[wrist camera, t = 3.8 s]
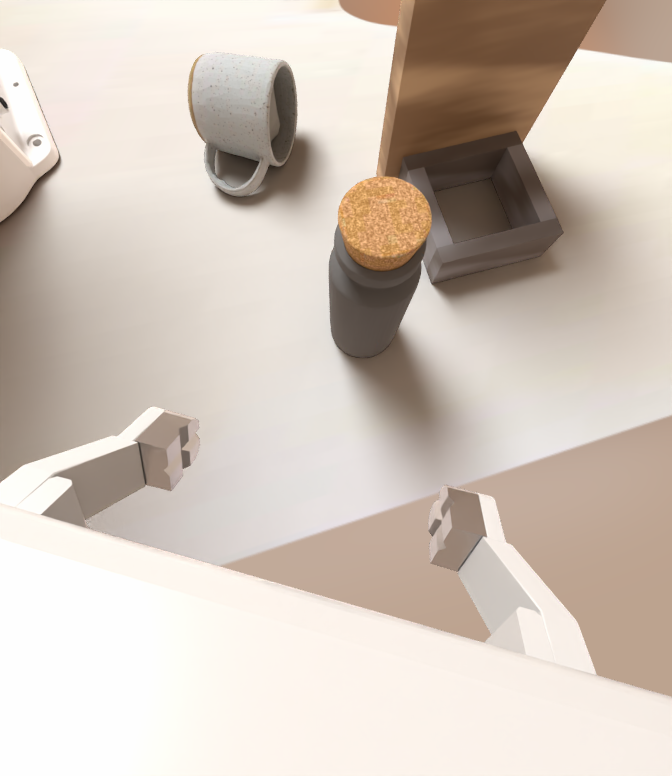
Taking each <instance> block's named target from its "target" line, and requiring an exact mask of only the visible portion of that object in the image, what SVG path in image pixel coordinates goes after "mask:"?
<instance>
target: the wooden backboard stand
mask: <svg viewBox="0 0 672 776" xmlns="http://www.w3.org/2000/svg"><path fill="white" fill-rule="evenodd" d="M605 1H606V0H401V5H400V12H399V19H398V26H397V33H396V40H395V47H394V54H393V61H392V68H391V75H390V82H389V89H388V96H387V103H386V110H385V117H384V124H383V131H382V138H381V145H380V152H379V159H378V166H377V173H376V174H377V177H386V176H387V177H395V178H398V179H402V180H404V181H406V182H408V183H410V184H412V185H413V186H415V187H416V188H417V189H418V190H419V191H420V192H421V193H422V194H423V195H424V196H425V198H426V200H427V202H428V204H429V206H430V210H431V214H432V224H431V229H430V232H429V235H428V237H427V238H426V240H427V243H426V251H425V254H424V257H423V262H424V264H425V267H426V270H427V273H428V275H429V278H430V281H431V284H433V283H437V282H441V281H445V280H449V279H453V278H456V277H460V276H464V275H468V274H472V273H476V272H480V271H484V270H488V269H492V268H495V267H499V266H503V265H507V264H511V263H515V262H519V261H523V260H527V259H531V258H534V257H538V256H541V255H542V254H543V253H544V252H545V251H546V250H547V249H548V248H549V247H550V246H551V245H552V244H553V243H554V242H555V241H556V240H557V239H558V238H559V237H560V236H561V235H562V234H563V233H564V232H563V230H562V228H561V226H560V224H559V222H558V219H557V217H556V215H555V213H554V211H553V209H552V206H551V204H550V202H549V200H548V198H547V196H546V193H545V191H544V189H543V187H542V185H541V183H540V180H539V178H538V176H537V174H536V172H535V170H534V167H533V165H532V163H531V161H530V159H529V157H528V154H527V152H526V150H525V148H524V146H523V144H522V143H523V141H524V140H525V138H526V136H527V134H528V133H529V131H530V129H531V128H532V126H533V124H534V122H535V121H536V119H537V117H538V116H539V114H540V112H541V111H542V109H543V107H544V105H545V104H546V102H547V100H548V99H549V97H550V95H551V93H552V92H553V90H554V88H555V87H556V85H557V83H558V82H559V80H560V78H561V76H562V75H563V73H564V71H565V70H566V68H567V66H568V65H569V63H570V61H571V59H572V58H573V56H574V54H575V53H576V51H577V49H578V47H579V46H580V44H581V42H582V41H583V39H584V37H585V36H586V34H587V32H588V30H589V29H590V27H591V25H592V24H593V22H594V20H595V19H596V16H597V15H598V13H599V12H600V10H601V8H602V6H603V5H604V3H605ZM488 178H491V180H492V182H493V184H494V187H495V189H496V191H497V194H498V196H499V198H500V201H501V203H502V205H503V208H504V210H505V212H506V215H507V217H508V219H509V222H510V224H511V226H512V229H510V230H506V231H502V232H498V233H494V234H490V235H486V236H482V237H478V238H474V239H470V240H466V241H463V242H459V243H455V244H454V243H453V241H452V238H451V236H450V233H449V231H448V228H447V225H446V223H445V220H444V218H443V215H442V212H441V210H440V207H439V205H438V202H437V199H436V197H435V194H434V191H438V190H442V189H446V188H450V187H455V186H459V185H463V184H467V183H471V182H475V181H479V180H484V179H488Z"/></svg>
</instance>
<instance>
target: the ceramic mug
mask: <svg viewBox="0 0 672 776" xmlns="http://www.w3.org/2000/svg"><path fill="white" fill-rule="evenodd" d="M188 103H189V110H190V115H191V118H192V121H193V124H194V126H195V128H196V130H197V132H198V134H199V136H200V137H201V138H202V140H203V141H204V142H205V143H206V146H205V152H204V162H205V168H206V171H207V173H208V175H209V177H210V179H211V180H212V182H213V183H214V184H215V185H216V186H217V187H218V188H220V189H221V190H222V191H223V192H225V193H227V194H230V195H232V196H239V197H241V196H247V195H249V194H251V193H252V192H254V191H255V190H256V189H257V188H258V187H259V186H260V184H261V183H262V180H263V178H264V176H265V174H266V172H267V169H268V167H269V165H273V166H282V165H283V164H285V162H286V161H287V159H288V157H289V155H290V153H291V150H292V147H293V143H294V139H295V132H296V125H297V94H296V86H295V80H294V77H293V73H292V70H291V68H290V66H289V65H288V64H287V63H286V62H285V61H284V60H277V59H267V58H261V57H254V56H245V55H236V54H229V53H220V52H216V53H207V54H203V55H201V56H200V57H199V58H197V59H196V60H195V62H194V64H193V66H192V69H191V72H190V75H189V82H188ZM216 150H219V151H223V152H227V153H230V154H235V155H239V156H243V157H246V158H249V159H252V160H255V161H259V165H258V167H257V168H256V171H255V172H254V174H253V176H252V177H251V179H250V180H249V181H247V182H246V183H245V184H243V185H241V186H240V187H237V188H234V187H231V186H229V185H228V184H226V183H225V181H224V180H220V179H219V178H218V177H217V175H216V173H215V166H214V163H215V153H216Z"/></svg>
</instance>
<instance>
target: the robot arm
mask: <svg viewBox="0 0 672 776" xmlns="http://www.w3.org/2000/svg"><path fill="white" fill-rule="evenodd" d="M58 159H59V153H58V150H57V148H56V145H55V143H54V141H53V138H52V136H51V133H50V131H49V128H48V126H47V123H46V121H45V118H44V116H43V113H42V111H41V108H40V106H39V103H38V101H37V98H36V96H35V93H34V91H33V88H32V86H31V83H30V81H29V78H28V76H27V73H26V71H25V68H24V66H23V64H22V62H21V61H20V59H19V58H18V57H17V56H16V55H15V54H14V53H13V52H11V51H8V50H5V49H0V222H1V221H2V220H4V219H5V218H6V217H8V216H9V215H10V214H11V213H12V212H13V211H14V210H15V209H16V208H17V207H18V206H19V205H20V204H21V203H22V202H23V200H24V199H25V197H26V196H27V194H28V193H29V191H30V189H31V188H32V186H33V185H34V183H35V182H36V181H37V179H38V178H39V177H41V176H42V175H43V174H45V173H46V172H47V171H48V170H50V169H51V168H52V167H53V166H54V165H55V164H56V163H57V161H58ZM198 429H199V420H197V419H196V418H193V417H189V416H186V415H183V414H179V413H176V412H172V411H169V410H164V409H161V408H158V407H154V406H153V407H150V408H148V409H147V410H146V411H145V412H144V413H143V414H142V415H140V416H139V417H138V418H137V419H136V420H135V421H134V422H133V423H132V424H130V425H129V426H128V427H127V428H126V429H125V430H124V431H123V432H122V433H121V434H119V435H118V436H117V437H116V436H110V437H107V438H104V439H101V440H98V441H95V442H92V443H89V444H86V445H83V446H80V447H77V448H73V449H70V450H67V451H64V452H61V453H58V454H55V455H52V456H49V457H46V458H43V459H40V460H37V461H34V462H31V463H28V464H25V465H23V466H22V467H20V468H19V469H18V470H16V471H15V472H14V473H12V474H11V475H10V476H8V477H7V478H6V479H4V480H3V481H2V482H1V483H0V776H672V697H670V696H667V695H664V694H660V693H656V692H653V691H650V690H646V689H642V688H639V687H636V686H632V685H628V684H625V683H622V682H618V681H615V680H611V679H608V678H605V677H601V676H597V675H596V672H595V669H594V666H593V664H592V661H591V658H590V655H589V653H588V650H587V647H586V645H585V642H584V639H583V636H582V634H581V631H580V628H579V626H578V623H577V621H576V620H575V619H574V617H573V616H572V615H571V614H570V613H569V612H568V610H567V609H566V608H565V607H564V606H563V605H562V603H561V602H560V601H559V600H558V599H557V598H556V596H555V595H554V594H553V593H552V592H551V590H550V589H549V588H548V587H547V586H546V585H545V584H544V582H543V581H542V580H541V579H540V578H539V577H538V575H537V574H536V573H535V572H534V571H533V569H532V568H531V567H530V566H529V565H528V564H527V562H526V561H525V560H524V559H523V558H522V557H521V555H520V554H519V553H518V552H517V551H516V549H515V548H514V547H513V546H512V545H511V544H508V543H506V540H505V536H504V532H503V528H502V525H501V521H500V517H499V513H498V510H497V506H496V502H495V499H494V498H493V497H491V496H487V495H483V494H480V493H475V492H471V491H467V490H463V489H460V488H456V487H452V486H448V485H444V486H443V487H442V488H441V490H440V492H439V498H440V499H439V500H437V501H435V502H434V503H433V506H432V508H431V510H430V515H429V524H428V527H429V532H430V534H431V535H432V537H433V538H432V539H431V541H430V543H429V548H430V563H431V564H434V565H437V566H440V567H444V568H447V569H450V570H454V571H457V572H458V575H459V577H460V579H461V581H462V582H463V584H464V586H465V588H466V590H467V591H468V593H469V595H470V597H471V599H472V600H473V602H474V604H475V606H476V607H477V609H478V611H479V613H480V614H481V616H482V618H483V620H484V622H485V624H486V625H487V627H488V629H489V631H490V633H491V634H492V635H491V636H490V637H489V638H488V639H487V640H486V641H485V642H484V643H483V642H480V641H476V640H473V639H469V638H466V637H462V636H459V635H455V634H452V633H448V632H445V631H442V630H438V629H435V628H431V627H428V626H424V625H421V624H418V623H414V622H411V621H407V620H403V619H400V618H397V617H393V616H390V615H386V614H383V613H379V612H376V611H372V610H369V609H365V608H361V607H358V606H355V605H352V604H348V603H345V602H341V601H338V600H334V599H331V598H327V597H324V596H320V595H317V594H313V593H310V592H306V591H303V590H299V589H296V588H292V587H289V586H286V585H282V584H278V583H275V582H272V581H268V580H265V579H261V578H258V577H254V576H251V575H248V574H243V573H241V572H237V571H234V570H230V569H227V568H223V567H220V566H216V565H213V564H209V563H206V562H203V561H199V560H196V559H192V558H189V557H185V556H182V555H178V554H175V553H171V552H168V551H164V550H161V549H158V548H154V547H151V546H147V545H144V544H140V543H137V542H133V541H130V540H126V539H123V538H119V537H116V536H113V535H109V534H106V533H102V532H99V531H95V530H92V529H88V526H87V524H86V521H85V520H86V519H88V518H90V517H91V516H93V515H95V514H97V513H98V512H100V511H102V510H104V509H106V508H107V507H109V506H111V505H113V504H114V503H116V502H118V501H120V500H122V499H123V498H125V497H127V496H129V495H131V494H132V493H134V492H136V491H138V490H139V489H141V488H143V487H145V485H149V486H153V487H157V488H161V489H165V490H169V491H172V490H173V488H174V487H175V486H176V484H177V483H178V482H179V480H180V479H181V478H182V476H183V469H184V468H186V467H188V466H190V465H191V464H192V463H193V461H194V460H195V458H196V456H197V453H198V451H199V446H200V438H199V437H198V435H197V434H196V432H197V430H198Z"/></svg>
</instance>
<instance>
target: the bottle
mask: <svg viewBox="0 0 672 776" xmlns="http://www.w3.org/2000/svg"><path fill="white" fill-rule="evenodd" d="M431 224H432V214H431V210H430V206H429V204H428V202H427V200H426V198H425V196H424V195H423V194H422V193H421V192H420V191H419V190H418V189H417V188H416V187H415V186H413V185H412V184H410V183H408V182H406V181H404V180H402V179H398V178H395V177H387V176H386V177H373V178H369V179H366V180H364V181H361V182H359V183H358V184H356V185H355V186H354V187H352V188H351V189H350V190H349V191H348V192H347V193H346V195H345V196H344V198H343V199H342V201H341V204H340V206H339V211H338V226H337V228H336V231H335V238H334V248H333V250H332V252H331V256H330V260H329V298H330V324H331V333H332V336H333V339H334V341H335V343H336V344H337V345H338V347H339V348H340V349H341V350H342V351H344V352H345V353H347V354H349V355H351V356H354V357H359V358H367V357H372V356H375V355H377V354H379V353H381V352H382V351H384V350H385V349H386V348H387V347H388V346H389V344H390V342H391V341H392V339H393V337H394V335H395V333H396V331H397V329H398V327H399V325H400V322H401V320H402V318H403V316H404V314H405V312H406V310H407V307H408V305H409V303H410V301H411V299H412V296H413V294H414V292H415V290H416V288H417V285H418V282H419V279H420V275H421V261H422V259H423V257H424V254H425V251H426V243H427V240H426V238H427V237H428V235H429V232H430V229H431Z"/></svg>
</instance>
